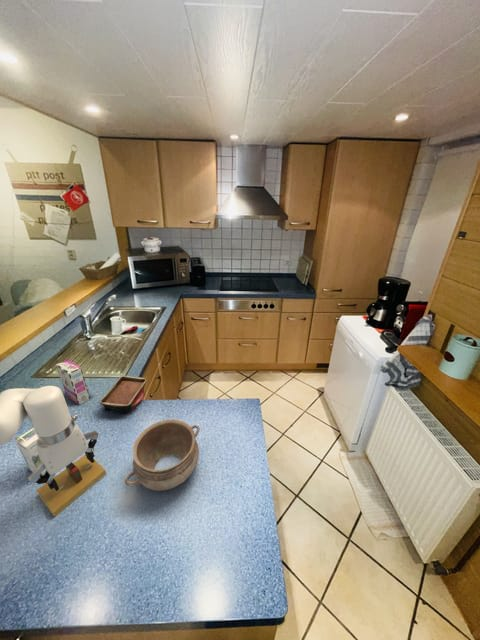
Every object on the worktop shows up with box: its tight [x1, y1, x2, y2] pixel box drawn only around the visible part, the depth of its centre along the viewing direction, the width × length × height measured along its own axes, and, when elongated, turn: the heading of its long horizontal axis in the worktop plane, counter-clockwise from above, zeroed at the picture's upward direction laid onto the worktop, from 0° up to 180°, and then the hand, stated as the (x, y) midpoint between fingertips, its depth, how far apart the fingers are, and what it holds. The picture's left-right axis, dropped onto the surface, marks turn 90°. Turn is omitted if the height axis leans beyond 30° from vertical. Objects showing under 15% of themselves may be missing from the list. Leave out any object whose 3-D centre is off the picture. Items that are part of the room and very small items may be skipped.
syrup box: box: [14, 427, 46, 476], centre depth 75 cm, size 6×6×14 cm
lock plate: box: [36, 454, 107, 518], centre depth 73 cm, size 14×10×3 cm
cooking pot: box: [124, 419, 201, 492], centre depth 75 cm, size 25×19×12 cm
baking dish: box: [99, 375, 147, 414], centre depth 102 cm, size 14×18×10 cm
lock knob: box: [65, 462, 82, 484], centre depth 72 cm, size 5×2×5 cm, turn 56°
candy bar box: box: [55, 359, 91, 405], centre depth 103 cm, size 11×5×16 cm, turn 56°
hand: (74, 473), depth 72 cm, fingers open, 9 cm apart
